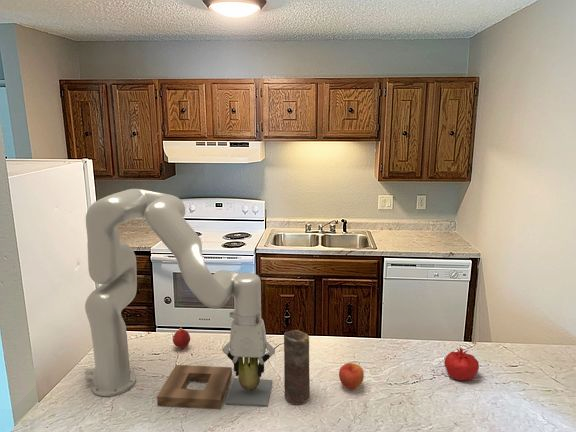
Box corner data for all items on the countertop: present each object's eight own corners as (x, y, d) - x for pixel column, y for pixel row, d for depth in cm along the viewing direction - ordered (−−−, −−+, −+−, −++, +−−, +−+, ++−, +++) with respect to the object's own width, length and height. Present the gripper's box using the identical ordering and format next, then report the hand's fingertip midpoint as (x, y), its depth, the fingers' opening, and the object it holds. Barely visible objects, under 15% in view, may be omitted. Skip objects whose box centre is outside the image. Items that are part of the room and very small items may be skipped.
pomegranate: (478, 387, 128) (482, 360, 126) (443, 381, 131) (446, 354, 129) (475, 369, 137) (479, 343, 135) (443, 363, 140) (445, 338, 138)
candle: (280, 392, 125) (280, 330, 121) (303, 386, 128) (304, 326, 124) (289, 408, 118) (289, 342, 114) (313, 402, 121) (314, 338, 117)
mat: (225, 404, 120) (225, 402, 120) (233, 379, 131) (233, 378, 131) (267, 406, 119) (267, 405, 119) (272, 381, 131) (272, 379, 130)
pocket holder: (157, 406, 119) (156, 396, 119) (176, 373, 135) (175, 364, 134) (220, 409, 118) (219, 399, 117) (232, 375, 133) (231, 367, 133)
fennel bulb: (237, 390, 123) (236, 353, 121) (243, 380, 128) (242, 344, 125) (256, 393, 122) (255, 355, 119) (261, 383, 126) (261, 347, 124)
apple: (364, 382, 130) (365, 358, 129) (361, 396, 123) (362, 372, 122) (340, 378, 132) (341, 355, 131) (336, 392, 125) (337, 368, 124)
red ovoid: (183, 342, 154) (182, 322, 152) (194, 347, 150) (192, 327, 148) (170, 349, 149) (169, 328, 148) (180, 354, 146) (179, 333, 144)
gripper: (214, 321, 117) (217, 380, 121) (276, 324, 116) (277, 382, 120) (221, 310, 124) (223, 365, 128) (279, 312, 123) (279, 367, 127)
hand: (249, 373), depth 124 cm, fingers closed on fennel bulb, 6 cm apart
